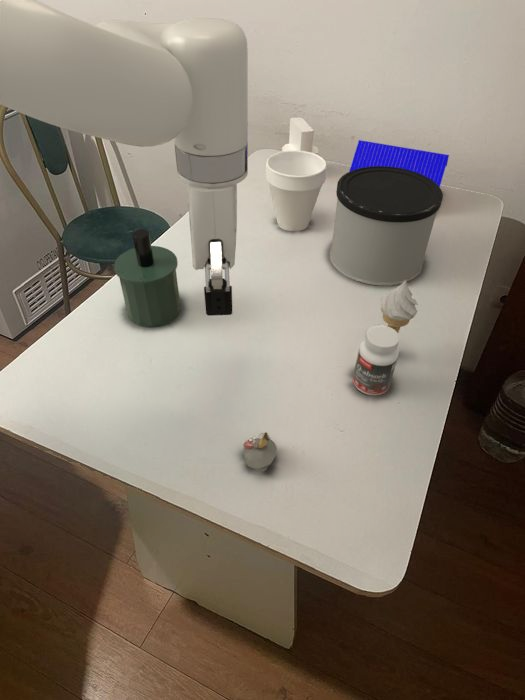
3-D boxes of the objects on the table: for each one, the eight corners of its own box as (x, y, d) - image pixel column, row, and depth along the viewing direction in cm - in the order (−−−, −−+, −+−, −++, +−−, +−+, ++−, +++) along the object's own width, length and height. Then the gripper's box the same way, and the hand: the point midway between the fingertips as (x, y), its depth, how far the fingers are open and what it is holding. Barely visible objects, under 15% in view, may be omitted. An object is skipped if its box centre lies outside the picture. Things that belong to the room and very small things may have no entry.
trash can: (130, 331, 87) (119, 286, 80) (125, 298, 93) (115, 254, 86) (184, 322, 89) (178, 277, 82) (176, 290, 95) (170, 246, 88)
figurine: (268, 480, 67) (269, 453, 62) (236, 469, 68) (235, 442, 63) (281, 448, 70) (283, 421, 66) (251, 439, 71) (251, 411, 67)
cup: (276, 204, 118) (278, 146, 109) (327, 215, 115) (334, 155, 106) (256, 231, 110) (256, 170, 101) (311, 243, 107) (316, 181, 97)
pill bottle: (348, 390, 78) (357, 342, 71) (357, 365, 82) (366, 317, 75) (385, 401, 76) (398, 353, 69) (393, 375, 80) (406, 328, 73)
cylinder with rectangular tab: (321, 178, 128) (326, 129, 120) (287, 182, 126) (289, 133, 118) (309, 163, 134) (313, 115, 126) (276, 167, 132) (277, 119, 124)
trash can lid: (117, 291, 80) (109, 256, 76) (113, 255, 87) (105, 221, 83) (182, 281, 82) (178, 246, 78) (173, 247, 89) (168, 213, 85)
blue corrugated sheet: (431, 216, 115) (445, 166, 107) (345, 199, 121) (352, 150, 112) (439, 192, 123) (452, 144, 115) (358, 177, 129) (365, 130, 120)
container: (321, 234, 109) (328, 166, 99) (407, 231, 111) (423, 163, 100) (338, 288, 96) (349, 216, 85) (436, 284, 97) (458, 212, 87)
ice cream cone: (365, 361, 82) (381, 286, 72) (373, 339, 86) (390, 265, 76) (400, 371, 81) (422, 295, 70) (407, 348, 85) (428, 273, 74)
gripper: (179, 127, 60) (190, 252, 72) (172, 199, 48) (187, 335, 59) (243, 127, 60) (244, 251, 72) (253, 197, 48) (252, 333, 60)
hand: (218, 289), depth 66 cm, fingers open, 9 cm apart
